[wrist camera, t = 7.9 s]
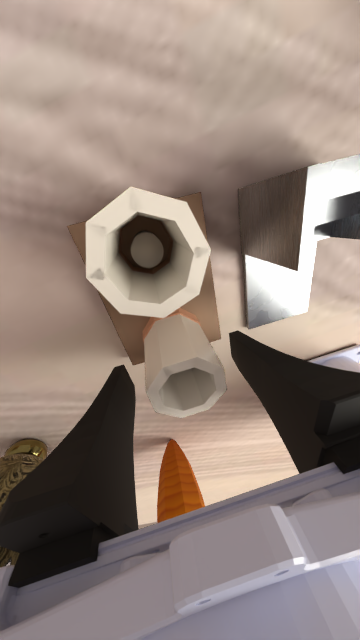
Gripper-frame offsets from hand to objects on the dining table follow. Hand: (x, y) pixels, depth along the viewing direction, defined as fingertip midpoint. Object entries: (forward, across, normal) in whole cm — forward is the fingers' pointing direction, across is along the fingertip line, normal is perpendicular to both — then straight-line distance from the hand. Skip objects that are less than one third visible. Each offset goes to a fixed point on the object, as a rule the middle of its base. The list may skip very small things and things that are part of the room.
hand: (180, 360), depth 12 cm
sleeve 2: (+3, 0, 0) cm, 3 cm away
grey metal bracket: (+5, -10, -3) cm, 11 cm away
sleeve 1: (+3, 0, -7) cm, 8 cm away
